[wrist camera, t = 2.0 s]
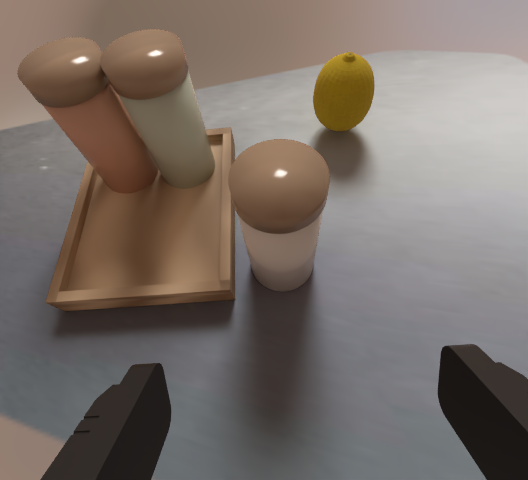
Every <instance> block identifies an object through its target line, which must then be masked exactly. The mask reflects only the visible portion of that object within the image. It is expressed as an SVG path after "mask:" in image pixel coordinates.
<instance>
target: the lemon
mask: <svg viewBox="0 0 528 480" xmlns="http://www.w3.org/2000/svg"><path fill="white" fill-rule="evenodd" d="M373 95H374V76H373V71H372V69H371V67H370V65H369V64H368V62H367V61H366V60H365V59H364V58H362V57H361V56H359V55H357V54H354V53H352V52H347V53H345V54H341V55H338V56H336V57H334V58H332V59H331V60H329V61H328V62H327V63H326V64H325V65H324V67H323V68H322V70H321V72H320V73H319V76H318V78H317V81H316V84H315V89H314V96H313V104H314V109H315V114H316V116H317V118H318V119H319V121H320V122H321V123H322V124H323V125H324V126H325V127H326V128H328V129H330V130H333V131H346V130H349V129H351V128H353V127H355V126H356V125H358V124H359V123H360V122H361V121H362V120H363V119H364V117H365V116H366V114H367V113H368V111H369V109H370V106H371V103H372V99H373Z"/></svg>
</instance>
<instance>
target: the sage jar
mask: <svg viewBox="0 0 528 480" xmlns="http://www.w3.org/2000/svg"><path fill="white" fill-rule="evenodd" d="M100 65H101V67H102V69H103V71H104V73H105V75H106V77H107V78H108V80H109V82H110V84H111V86H112V87H113V89H114V91H115V92H116V93H117V94H118V95H119V97H120V99H121V101H122V103H123V105H124V106H125V108H126V110H127V112H128V114H129V116H130V118H131V119H132V121H133V123H134V125H135V127H136V129H137V130H138V132H139V134H140V136H141V138H142V140H143V142H144V143H145V145H146V147H147V149H148V151H149V153H150V154H151V156H152V158H153V160H154V162H155V164H156V165H157V167H158V169H159V171H160V173H161V175H162V177H163V178H164V180H165V181H166V182H167V183H168V184H169V185H171V186H173V187H175V188H181V189H187V188H193V187H196V186H198V185H201V184H202V183H204V182H205V181H207V180H208V179H209V178H210V177H211V175H212V174H213V172H214V169H215V159H214V156H213V152H212V149H211V146H210V142H209V139H208V136H207V132H206V129H205V126H204V122H203V119H202V116H201V112H200V109H199V105H198V102H197V99H196V95H195V92H194V89H193V85H192V82H191V79H190V75H189V72H188V64H187V60H186V57H185V53H184V51H183V47H182V43H181V41H180V39H179V38H178V37H177V36H176V35H175V34H173V33H171V32H169V31H165V30H158V29H149V30H141V31H136V32H133V33H130V34H127V35H125V36H122V37H120V38H118V39H117V40H115V41H114V42H112V43H111V44H110V45H109V46H108V47H107V48H106V49H105V50H104V51H103V53H102V55H101V58H100Z"/></svg>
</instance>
